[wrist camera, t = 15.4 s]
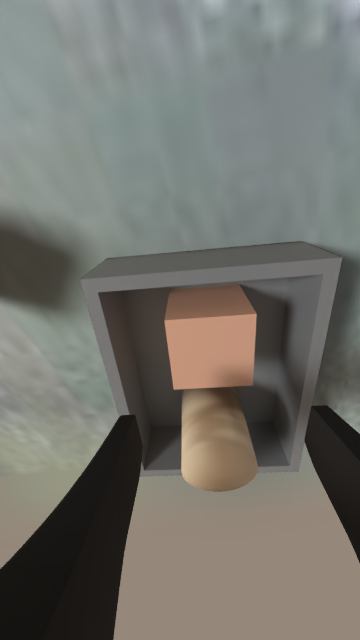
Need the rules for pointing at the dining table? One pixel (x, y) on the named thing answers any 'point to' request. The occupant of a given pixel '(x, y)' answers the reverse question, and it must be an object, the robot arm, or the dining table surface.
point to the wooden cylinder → (215, 440)
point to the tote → (270, 341)
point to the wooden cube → (210, 337)
